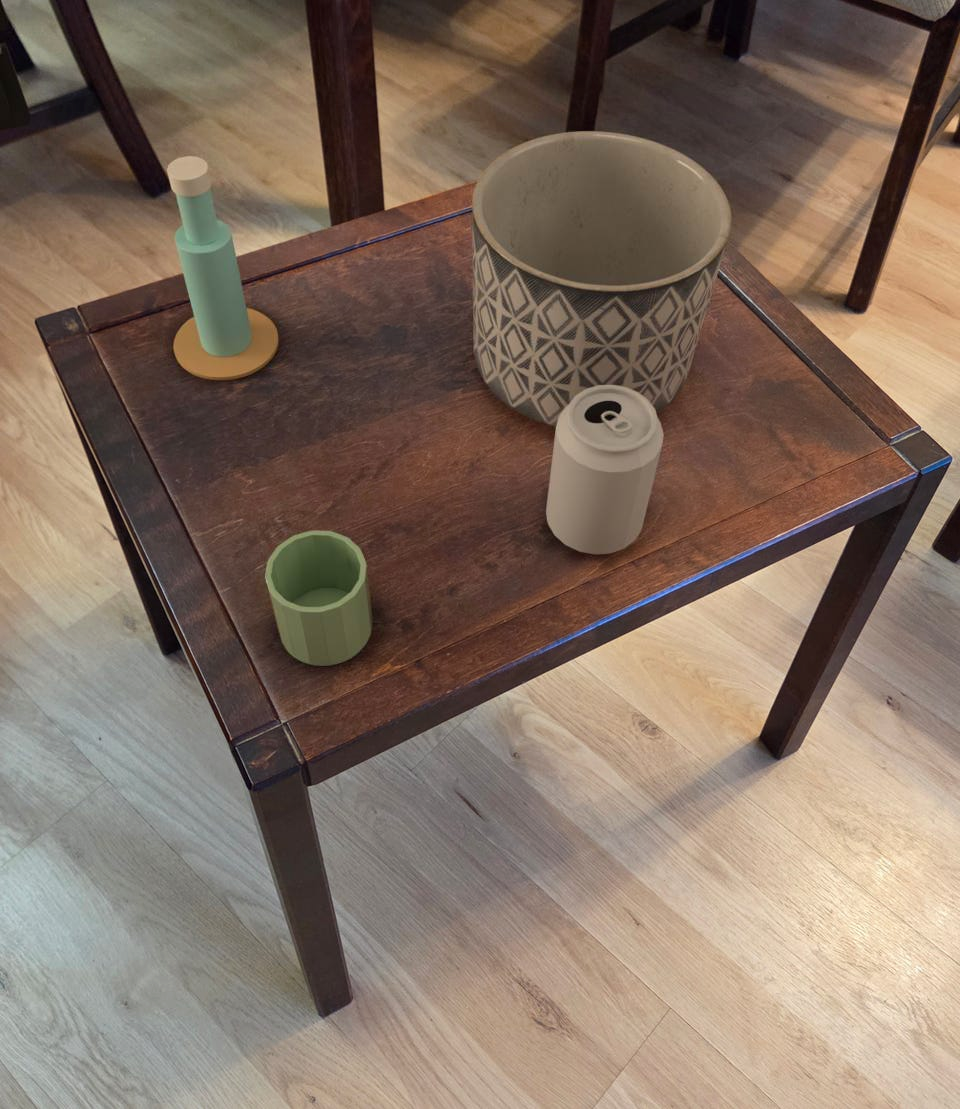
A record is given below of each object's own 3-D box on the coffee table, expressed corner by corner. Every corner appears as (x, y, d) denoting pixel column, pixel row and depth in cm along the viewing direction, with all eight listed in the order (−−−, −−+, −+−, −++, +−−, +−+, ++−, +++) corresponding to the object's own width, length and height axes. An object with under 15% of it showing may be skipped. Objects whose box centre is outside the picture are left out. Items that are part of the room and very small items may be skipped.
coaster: (186, 391, 89) (185, 387, 88) (165, 322, 94) (164, 319, 93) (290, 365, 91) (289, 362, 90) (264, 300, 96) (263, 296, 95)
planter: (468, 448, 86) (472, 287, 72) (468, 291, 97) (471, 128, 84) (704, 450, 86) (750, 291, 73) (676, 294, 97) (712, 132, 84)
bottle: (207, 362, 90) (163, 190, 77) (196, 329, 93) (152, 156, 79) (257, 350, 91) (223, 178, 78) (245, 318, 94) (210, 145, 80)
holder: (293, 678, 73) (280, 624, 67) (269, 603, 76) (254, 546, 71) (384, 649, 74) (378, 594, 69) (356, 577, 78) (349, 519, 72)
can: (603, 471, 85) (623, 361, 75) (661, 535, 81) (690, 427, 71) (526, 509, 82) (536, 400, 72) (582, 576, 78) (601, 471, 69)
